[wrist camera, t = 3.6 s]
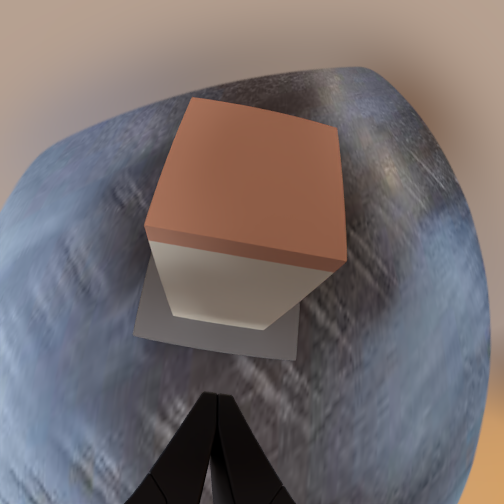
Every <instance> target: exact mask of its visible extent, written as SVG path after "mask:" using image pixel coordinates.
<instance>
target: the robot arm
mask: <svg viewBox="0 0 504 504" xmlns="http://www.w3.org/2000/svg"><path fill="white" fill-rule="evenodd" d="M209 460H210V468H211V481H212V493H213V504H296V503H295V502H294V500H293V499H292V497H291V496H290V494H289V493H288V491H287V490H286V488H285V487H284V486H282V485H283V484H282V482H281V480H280V479H279V477H278V475H277V474H276V472H275V471H274V469H273V467H272V466H271V464H270V462H269V461H268V459H267V457H266V455H265V454H264V452H263V450H262V449H261V447H260V445H259V443H258V442H257V440H256V438H255V436H254V435H253V433H252V431H251V429H250V427H249V426H248V424H247V422H246V420H245V418H244V416H243V415H242V413H241V411H240V409H239V407H238V405H237V403H236V402H235V400H234V398H233V396H232V395H228V394H218V395H217V394H216V393H213V392H206V391H204V392H203V393H202V394H201V395H200V397H199V398H198V400H197V402H196V403H195V405H194V406H193V408H192V409H191V411H190V412H189V414H188V415H187V417H186V418H185V420H184V421H183V423H182V424H181V426H180V427H179V429H178V430H177V432H176V433H175V435H174V436H173V438H172V439H171V441H170V442H169V444H168V445H167V447H166V448H165V450H164V451H163V452H162V454H161V455H160V457H159V458H158V460H157V461H156V463H155V464H154V466H153V467H152V468H151V470H150V472H149V473H148V474H147V475H146V477H145V478H144V480H143V481H142V482H141V484H140V485H139V486H138V488H137V489H136V490H135V492H134V493H133V494H132V495H131V496H130V498H129V499H128V500H127V501H126V502H125V503H124V504H200V499H201V495H202V491H203V486H204V482H205V478H206V473H207V469H208V465H209Z"/></svg>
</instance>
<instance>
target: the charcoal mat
mask: <svg viewBox="0 0 504 504" xmlns="http://www.w3.org/2000/svg"><path fill="white" fill-rule="evenodd" d="M299 312H300V302H298V303H297V304H296V305H295V306H293V307H292V308H291V309H290V310H289V311H287V312H286V313H285V314H284V315H282V316H281V317H280V318H279V319H277V320H276V321H275V322H273V323H272V324H271V325H270V326H268V327H267V328H266V329H264V330H258V329H251V328H244V327H237V326H230V325H224V324H217V323H211V322H205V321H199V320H194V319H188V318H182V317H177V316H173V314H172V311H171V308H170V306H169V303H168V300H167V297H166V294H165V291H164V288H163V285H162V282H161V279H160V276H159V273H158V270H157V267H156V264H155V260H154V257H153V254H152V252H151V256H150V260H149V264H148V268H147V272H146V276H145V280H144V285H143V289H142V293H141V298H140V302H139V307H138V312H137V316H136V321H135V326H134V331H133V335H134V336H136V337H140V338H145V339H150V340H154V341H159V342H164V343H169V344H174V345H180V346H185V347H191V348H197V349H203V350H209V351H215V352H222V353H229V354H236V355H244V356H252V357H260V358H269V359H279V360H289V361H295V360H296V353H297V340H298V327H299Z"/></svg>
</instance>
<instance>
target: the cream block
mask: <svg viewBox="0 0 504 504" xmlns="http://www.w3.org/2000/svg"><path fill="white" fill-rule="evenodd" d="M144 227H145V230H146V234H147V237H148V241H149V244H150V247H151V251H152V254H153V257H154V260H155V264H156V267H157V270H158V273H159V276H160V279H161V282H162V285H163V288H164V291H165V294H166V297H167V300H168V303H169V306H170V308H171V311H172V314H173V316H177V317H182V318H188V319H194V320H199V321H205V322H211V323H217V324H224V325H230V326H237V327H244V328H251V329H258V330H264V329H266V328H267V327H268V326H270V325H271V324H272V323H273V322H275V321H276V320H277V319H279V318H280V317H281V316H282V315H284V314H285V313H286V312H287V311H289V310H290V309H291V308H292V307H293V306H295V305H296V304H297V303H298V302H300V301H301V300H302V299H303V298H304V297H306V296H307V295H308V294H309V293H311V292H312V291H313V290H314V289H315V288H317V287H318V286H319V285H320V284H321V283H322V282H324V281H325V280H326V279H327V278H328V277H330V276H331V275H332V274H333V273H334V272H335V271H337V270H338V269H339V268H340V267H341V266H342V265H343V264H345V263H346V262H347V244H346V222H345V206H344V192H343V180H342V169H341V159H340V149H339V141H338V132H337V128H335V127H332V126H329V125H325V124H322V123H318V122H314V121H311V120H307V119H303V118H299V117H295V116H291V115H287V114H282V113H278V112H274V111H269V110H264V109H260V108H255V107H250V106H244V105H239V104H233V103H227V102H221V101H215V100H208V99H201V98H194V97H192V99H191V101H190V103H189V105H188V108H187V110H186V112H185V115H184V117H183V119H182V122H181V124H180V126H179V129H178V131H177V134H176V136H175V139H174V141H173V144H172V146H171V149H170V152H169V154H168V157H167V159H166V162H165V165H164V168H163V170H162V173H161V176H160V179H159V182H158V184H157V187H156V190H155V193H154V196H153V199H152V202H151V205H150V208H149V211H148V214H147V218H146V221H145V224H144Z"/></svg>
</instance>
